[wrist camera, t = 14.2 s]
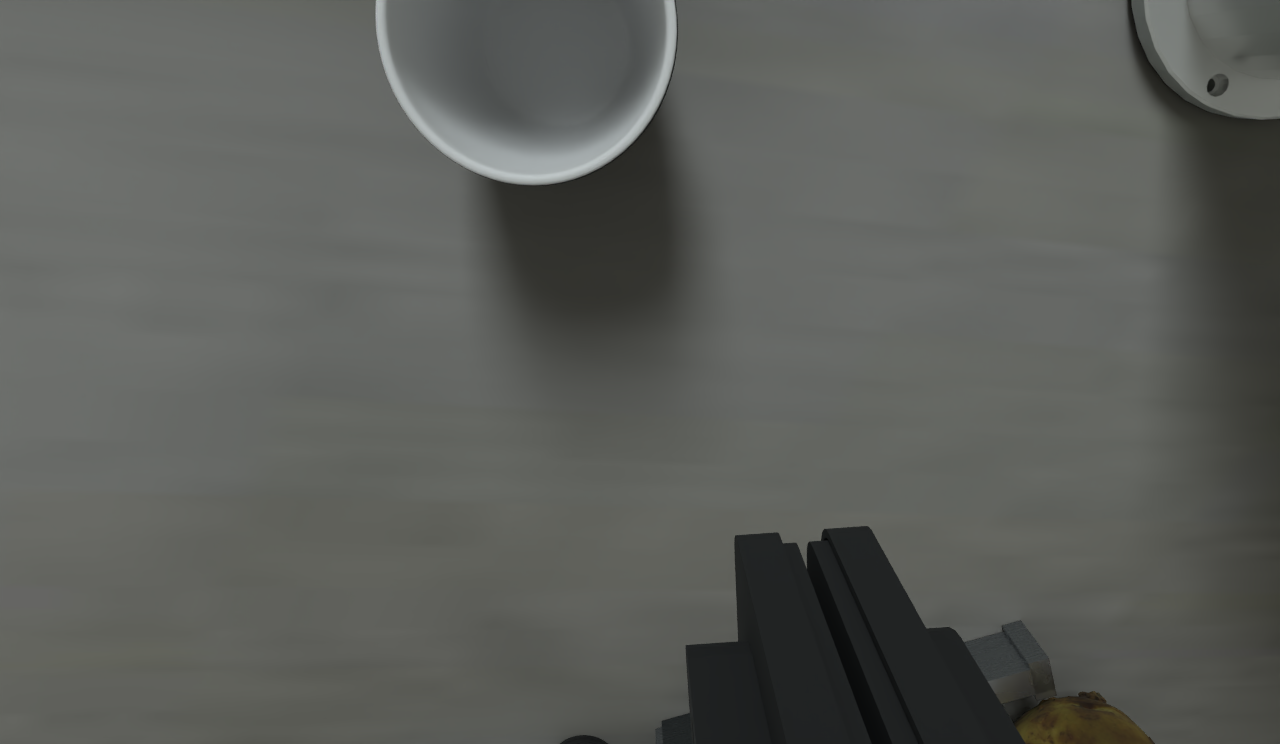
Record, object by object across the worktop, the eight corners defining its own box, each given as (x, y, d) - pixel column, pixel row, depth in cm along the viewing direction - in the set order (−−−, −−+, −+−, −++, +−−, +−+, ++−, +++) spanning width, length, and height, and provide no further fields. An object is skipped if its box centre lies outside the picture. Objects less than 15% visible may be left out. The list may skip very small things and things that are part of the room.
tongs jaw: (627, 766, 45) (627, 844, 41) (613, 734, 45) (612, 810, 40) (1028, 656, 43) (1077, 725, 38) (1020, 620, 42) (1069, 686, 38)
